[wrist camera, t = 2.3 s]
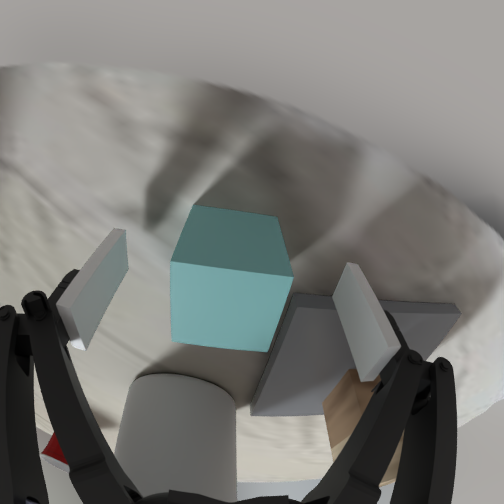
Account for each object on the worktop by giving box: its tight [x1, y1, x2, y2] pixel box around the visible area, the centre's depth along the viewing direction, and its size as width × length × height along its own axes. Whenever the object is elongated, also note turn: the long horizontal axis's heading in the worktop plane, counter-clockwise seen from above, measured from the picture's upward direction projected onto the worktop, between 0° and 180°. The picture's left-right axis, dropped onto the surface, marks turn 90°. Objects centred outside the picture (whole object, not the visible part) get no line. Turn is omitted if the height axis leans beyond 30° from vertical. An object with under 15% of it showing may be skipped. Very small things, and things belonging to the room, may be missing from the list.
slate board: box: [250, 293, 462, 416], centre depth 24 cm, size 18×18×2 cm
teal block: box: [170, 205, 294, 352], centre depth 15 cm, size 5×5×6 cm
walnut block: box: [322, 369, 381, 449], centre depth 22 cm, size 7×7×6 cm
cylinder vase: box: [114, 374, 237, 502], centre depth 17 cm, size 12×12×25 cm
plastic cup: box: [39, 433, 70, 473], centre depth 32 cm, size 11×11×12 cm
